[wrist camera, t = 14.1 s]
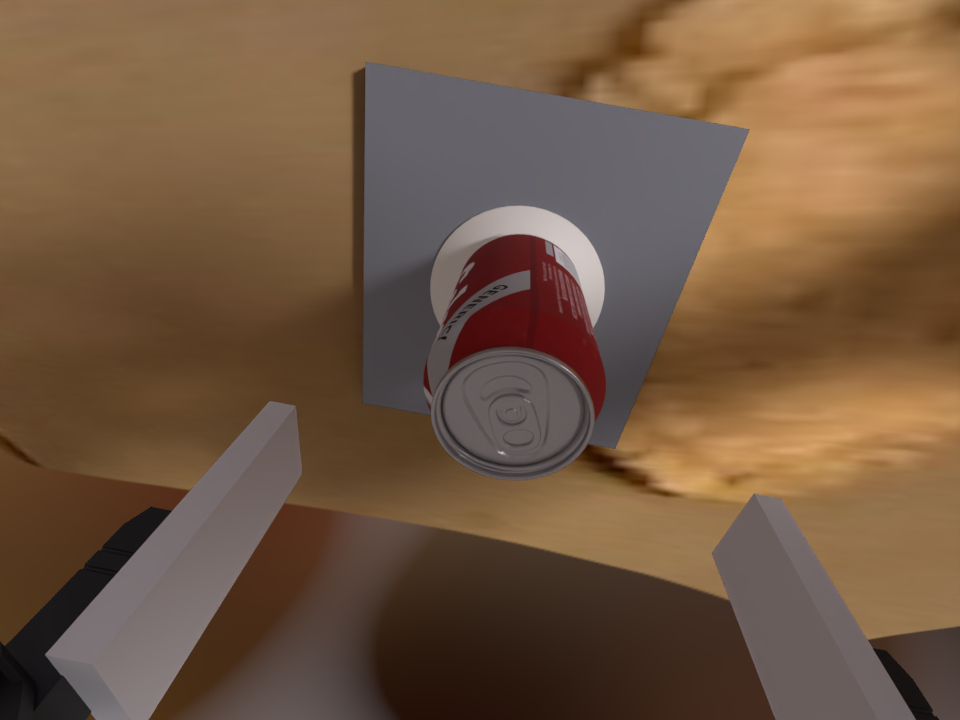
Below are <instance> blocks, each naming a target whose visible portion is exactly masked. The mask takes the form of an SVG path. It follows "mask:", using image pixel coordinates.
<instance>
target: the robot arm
mask: <svg viewBox="0 0 960 720" xmlns="http://www.w3.org/2000/svg"><path fill="white" fill-rule="evenodd" d="M302 474H303V473H302V463H301V453H300V442H299V432H298V421H297V411H296V406H294V405H289V404H284V403H279V402H274V401H269V402H268V403H267V405H266V406H265V407H264V408H263V409H262V410H261V411H260V412H259V414H258V415H257V416H256V417H255V418H254V419H253V420H252V421H251V423H250V424H249V425H248V426H247V427H246V428H245V429H244V431H243V432H242V433H241V434H240V435H239V436H238V437H237V438H236V440H235V441H234V442H233V443H232V444H231V445H230V446H229V447H228V449H227V450H226V451H225V452H224V453H223V454H222V455H221V456H220V458H219V459H218V460H217V461H216V462H215V463H214V464H213V466H212V467H211V468H210V469H209V470H208V471H207V472H206V473H205V475H204V476H203V477H202V478H201V479H200V480H199V481H198V482H197V484H196V485H195V486H194V487H193V488H192V489H191V490H190V492H189V493H188V494H187V495H186V496H185V497H184V498H183V500H182V501H181V502H180V503H179V504H178V505H177V506H176V507H175V508H174V510H173V511H169V510H164V509H159V508H154V507H150V508H149V509H147V510H145V511H144V512H142V513H141V514H139V515H138V516H136V517H134V518H133V519H131V520H130V521H128V522H126V523H125V524H124V525H123V526H122V527H121V528H120V529H119V530H118V531H117V532H116V533H115V534H114V535H113V536H112V537H111V538H110V539H109V540H108V541H107V542H106V543H105V544H104V545H103V548H102V550H100V551H97V552H96V553H95V554H94V555H93V556H92V558H91V559H90V560H89V561H88V562H87V563H86V564H85V566H84V568H83V569H80V570H79V571H78V572H77V573H76V574H75V575H74V576H73V577H72V578H71V579H70V580H69V581H68V582H67V583H66V585H64V586H63V587H62V588H61V590H59V592H57V594H56V595H55V596H54V597H53V598H52V599H51V600H50V601H49V602H48V603H47V604H46V605H45V606H44V607H43V608H42V609H41V610H40V611H39V612H38V613H37V614H36V615H35V616H34V617H33V618H32V619H31V620H30V621H29V622H28V623H27V624H26V625H25V626H24V628H23V629H22V630H21V631H20V632H19V633H18V634H17V635H16V636H15V637H14V638H13V639H12V640H11V641H10V642H9V643H8V644H6V645H5V646H4V645H3V644H2V643H1V642H0V720H86V718H87V717H88V716H89V714H90V713H91V714H92V715H93V716H94V718H95V719H96V720H148V719H149V718H150V716H151V715H152V713H153V711H154V710H155V708H156V707H157V705H158V703H159V702H160V700H161V699H162V697H163V696H164V694H165V692H166V691H167V689H168V687H169V686H170V684H171V683H172V681H173V680H174V678H175V676H176V675H177V673H178V672H179V670H180V668H181V667H182V665H183V663H184V662H185V660H186V659H187V657H188V656H189V654H190V652H191V651H192V649H193V648H194V646H195V644H196V643H197V641H198V640H199V638H200V636H201V635H202V633H203V632H204V630H205V628H206V627H207V625H208V624H209V622H210V620H211V619H212V617H213V616H214V614H215V612H216V611H217V609H218V608H219V606H220V605H221V603H222V601H223V600H224V598H225V596H226V595H227V593H228V592H229V590H230V589H231V587H232V585H233V584H234V582H235V581H236V579H237V577H238V575H239V574H240V572H241V571H242V569H243V568H244V566H245V565H246V563H247V561H248V560H249V558H250V556H251V555H252V553H253V552H254V550H255V549H256V547H257V545H258V544H259V542H260V540H261V539H262V537H263V536H264V534H265V533H266V531H267V529H268V528H269V526H270V525H271V523H272V521H273V520H274V518H275V517H276V515H277V514H278V512H279V510H280V509H281V507H282V505H283V504H284V502H285V501H286V499H287V498H288V496H289V494H290V493H291V491H292V490H293V488H294V486H295V485H296V483H297V482H298V480H299V478H300V477H301V475H302ZM712 555H713V558H714V560H715V563H716V566H717V568H718V571H719V573H720V576H721V579H722V581H723V584H724V586H725V589H726V592H727V594H728V597H729V599H730V602H731V604H732V607H733V610H734V612H735V615H736V618H737V620H738V623H739V625H740V628H741V630H742V633H743V636H744V639H745V641H746V644H747V646H748V649H749V651H750V654H751V657H752V659H753V662H754V665H755V667H756V670H757V672H758V675H759V678H760V680H761V683H762V685H763V688H764V690H765V693H766V696H767V698H768V701H769V704H770V706H771V709H772V711H773V714H774V717H775V719H776V720H939V719H938V718H937V717H935V716H934V715H933V713H932V711H933V710H932V708H931V707H930V705H929V704H928V702H927V701H926V699H925V697H924V696H923V694H922V693H921V691H920V690H919V688H918V687H917V685H916V683H915V682H914V681H913V679H912V678H911V677H910V676H909V675H908V674H907V673H906V671H905V670H904V669H903V668H902V667H901V666H900V665H899V664H898V663H897V662H896V661H895V660H894V659H893V657H891V655H890V654H889V653H888V652H887V651H885V650H880V649H875V648H872V647H871V645H870V643H869V642H868V640H867V638H866V637H865V635H864V634H863V632H862V630H861V629H860V627H859V625H858V624H857V622H856V620H855V619H854V617H853V615H852V614H851V612H850V611H849V609H848V607H847V606H846V604H845V602H844V601H843V599H842V597H841V596H840V594H839V593H838V591H837V589H836V588H835V586H834V584H833V583H832V581H831V579H830V578H829V576H828V574H827V573H826V571H825V570H824V568H823V566H822V565H821V563H820V561H819V560H818V558H817V556H816V555H815V553H814V552H813V550H812V548H811V547H810V545H809V543H808V542H807V540H806V538H805V537H804V535H803V533H802V532H801V530H800V529H799V527H798V525H797V524H796V522H795V520H794V519H793V517H792V515H791V514H790V512H789V510H788V509H787V507H786V506H785V504H784V502H783V501H782V499H780V498H775V497H770V496H765V495H759V494H753V496H752V497H751V498H750V500H749V501H748V503H747V504H746V506H745V507H744V508H743V510H742V511H741V513H740V514H739V515H738V517H737V518H736V520H735V521H734V522H733V524H732V525H731V527H730V528H729V529H728V531H727V532H726V534H725V535H724V537H723V538H722V539H721V541H720V542H719V544H718V545H717V546H716V548H715V549H714V551H713V552H712Z"/></svg>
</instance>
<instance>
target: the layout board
mask: <svg viewBox="0 0 960 720" xmlns="http://www.w3.org/2000/svg"><path fill="white" fill-rule="evenodd" d="M749 130H750V129H744V128H739V127H733V126H727V125H722V124H716V123H710V122H704V121H699V120H693V119H687V118H682V117H676V116H670V115H665V114H659V113H653V112H648V111H642V110H636V109H631V108H625V107H619V106H614V105H608V104H602V103H597V102H591V101H585V100H579V99H574V98H568V97H562V96H557V95H551V94H545V93H540V92H534V91H528V90H523V89H517V88H511V87H506V86H500V85H494V84H489V83H483V82H477V81H471V80H466V79H460V78H454V77H449V76H443V75H437V74H432V73H426V72H420V71H415V70H409V69H403V68H398V67H392V66H386V65H381V64H375V63H369V62H365V172H364V282H363V392H362V403H364V404H370V405H375V406H381V407H386V408H392V409H397V410H403V411H409V412H414V413H420V414H425V415H431V411H430V409H429V407H428V404H427V401H426V398H425V393H424V385H423V378H424V369H425V365H426V361H427V358H428V356H429V353H430V351H431V348H432V346H433V343H434V341H435V338H436V335H437V333H438V330H439V328H440V325H441V323H442V320H443V318H444V315H445V313H446V310H447V308H448V305H449V303H450V300H451V298H452V295H453V293H454V290H455V287H456V285H457V282H458V280H459V277H460V275H461V272H462V270H463V268H464V266H465V264H466V262H467V261H468V259H469V258H470V257H471V255H472V254H473V253H474V252H475V251H476V250H477V249H478V248H480V247H481V246H482V245H484V244H485V243H487V242H489V241H490V240H492V239H495V238H497V237H500V236H504V235H509V234H530V235H535V236H539V237H542V238H544V239H546V240H549V241H550V242H552V243H554V244H555V245H557V246H558V247H559V248H560V249H562V250H563V251H564V252H565V253H566V254H567V256H568V257H569V258H570V260H571V261H572V263H573V265H574V267H575V269H576V271H577V274H578V277H579V281H580V284H581V288H582V291H583V295H584V298H585V302H586V305H587V309H588V313H589V316H590V320H591V323H592V327H593V330H594V334H595V337H596V341H597V344H598V348H599V352H600V355H601V359H602V362H603V366H604V370H605V375H606V394H605V400H604V403H603V407H602V409H601V411H600V414H599V416H598V417H597V419H596V421H595V423H594V429H593V433H592V436H591V438H590V441H589V442H588V444H591V445H597V446H602V447H608V448H613V449H615V448H616V445H617V443H618V441H619V438H620V436H621V433H622V431H623V429H624V426H625V424H626V422H627V419H628V417H629V415H630V412H631V410H632V407H633V405H634V403H635V400H636V398H637V396H638V393H639V391H640V388H641V386H642V384H643V381H644V379H645V377H646V374H647V372H648V369H649V367H650V365H651V362H652V360H653V358H654V355H655V353H656V351H657V348H658V346H659V343H660V341H661V339H662V336H663V334H664V332H665V329H666V327H667V324H668V322H669V320H670V317H671V315H672V313H673V310H674V308H675V305H676V303H677V301H678V298H679V296H680V294H681V291H682V289H683V287H684V284H685V282H686V279H687V277H688V275H689V272H690V270H691V268H692V265H693V263H694V260H695V258H696V256H697V253H698V251H699V249H700V246H701V244H702V241H703V239H704V237H705V234H706V232H707V230H708V227H709V225H710V223H711V220H712V218H713V215H714V213H715V211H716V208H717V206H718V204H719V201H720V199H721V196H722V194H723V192H724V189H725V187H726V185H727V182H728V180H729V177H730V175H731V173H732V170H733V168H734V166H735V163H736V161H737V159H738V156H739V154H740V151H741V149H742V147H743V144H744V142H745V140H746V137H747V135H748V132H749Z"/></svg>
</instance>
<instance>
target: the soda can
mask: <svg viewBox="0 0 960 720" xmlns="http://www.w3.org/2000/svg"><path fill="white" fill-rule="evenodd" d="M423 385H424V393H425V398H426V401H427V404H428V407H429V409H430V411H431V422H432V427H433V430H434V433H435V435H436V437H437V439H438V441H439V442H440V444H441V445H442V447H443V448H444V449H445V451H446V452H447V453H448V454H449V455H450V456H451V457H452V458H453V459H455V460H456V461H457V462H459V463H460V464H461V465H463V466H465V467H466V468H468V469H470V470H472V471H474V472H476V473H479V474H482V475H484V476H488V477H492V478H496V479H503V480H529V479H535V478H540V477H543V476H547V475H550V474H552V473H555V472H557V471H559V470H561V469H562V468H564V467H566V466H567V465H569V464H570V463H571V462H573V461H574V460H575V459H576V458H577V457H578V456H579V455H580V454H581V453H582V452H583V450H584V449H585V448H586V446H587V444H588V442H589V441H590V438H591V436H592V433H593V429H594V423H595V421H596V419H597V417H598V416H599V414H600V411H601V409H602V407H603V403H604V400H605V394H606V375H605V370H604V366H603V362H602V359H601V355H600V352H599V348H598V344H597V341H596V337H595V334H594V330H593V327H592V323H591V320H590V316H589V313H588V309H587V305H586V302H585V298H584V295H583V291H582V288H581V284H580V281H579V277H578V274H577V271H576V269H575V267H574V265H573V263H572V261H571V260H570V258H569V257H568V256H567V254H566V253H565V252H564V251H563V250H562V249H560V248H559V247H558V246H557V245H555V244H554V243H552V242H550V241H549V240H546V239H544V238H542V237H539V236H535V235H530V234H509V235H504V236H500V237H497V238H495V239H492V240H490V241H489V242H487V243H485V244H484V245H482V246H481V247H480V248H478V249H477V250H476V251H475V252H474V253H473V254H472V255H471V257H470V258H469V259H468V261H467V262H466V264H465V266H464V268H463V270H462V272H461V275H460V277H459V280H458V282H457V285H456V287H455V290H454V293H453V295H452V298H451V300H450V303H449V305H448V308H447V310H446V313H445V315H444V318H443V320H442V323H441V325H440V328H439V330H438V333H437V335H436V338H435V341H434V343H433V346H432V348H431V351H430V353H429V356H428V358H427V361H426V365H425V369H424V378H423Z"/></svg>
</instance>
